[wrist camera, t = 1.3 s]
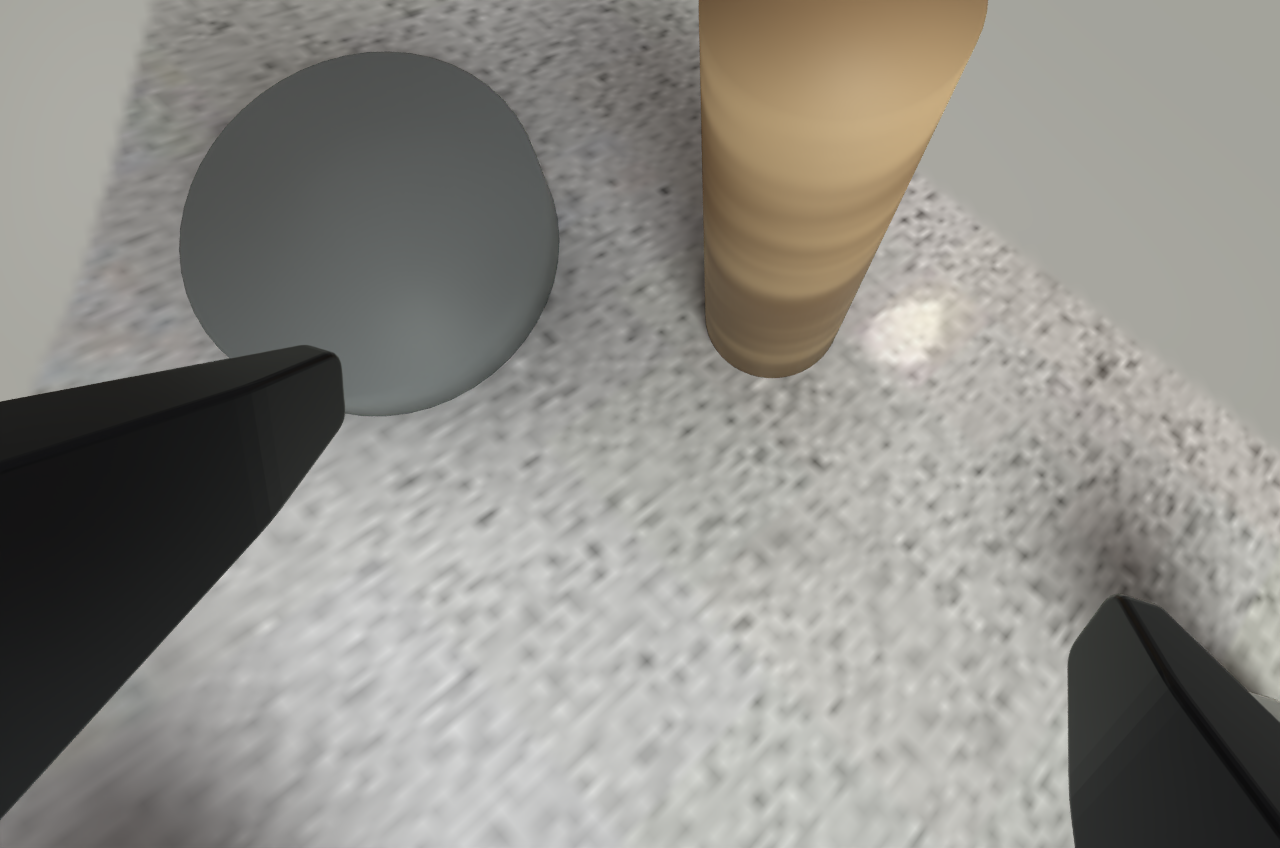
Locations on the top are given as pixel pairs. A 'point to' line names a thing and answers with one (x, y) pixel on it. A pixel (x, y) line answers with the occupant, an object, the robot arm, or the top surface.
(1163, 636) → the robot arm
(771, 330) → the teak pillar
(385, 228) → the grey plinth
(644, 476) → the top surface
